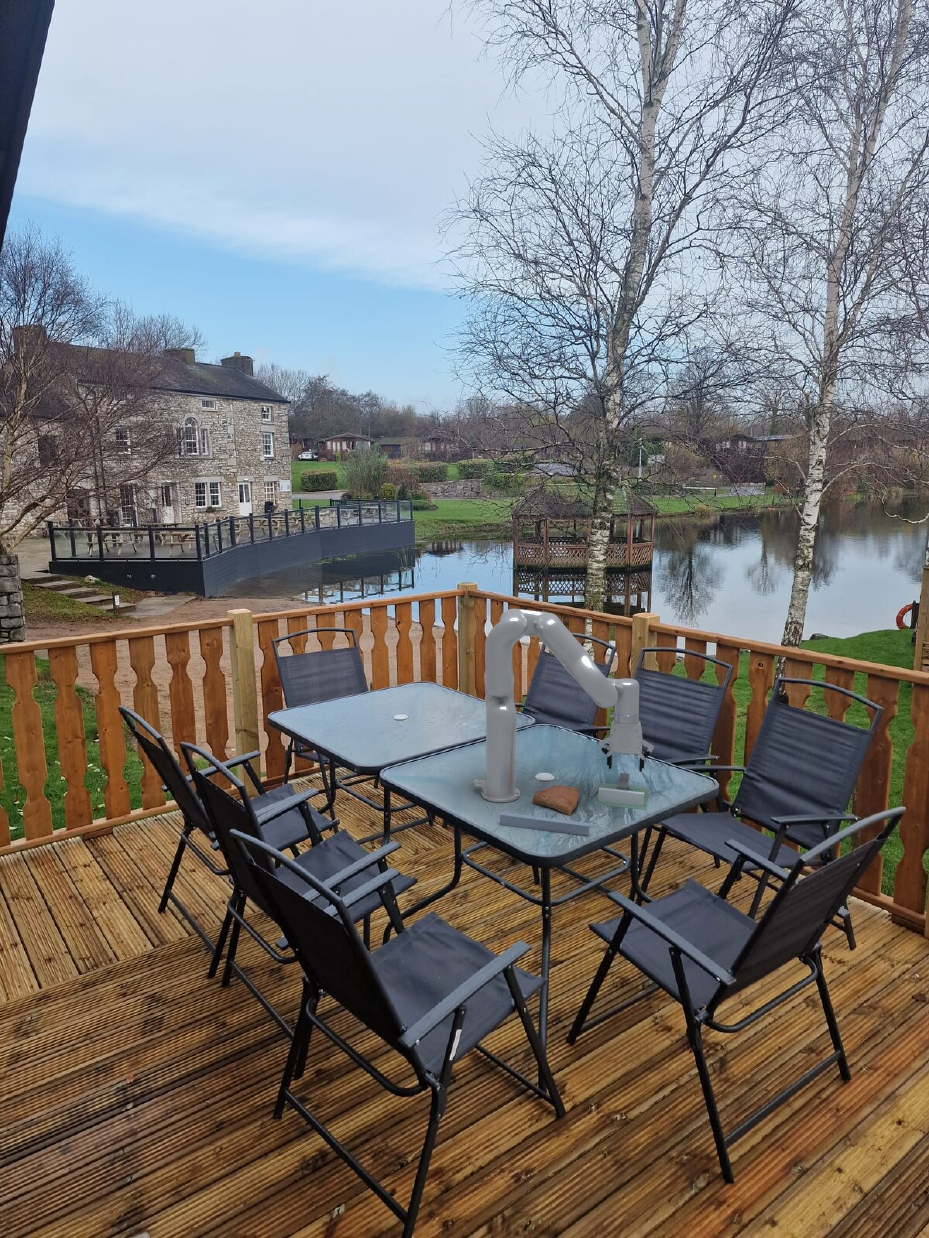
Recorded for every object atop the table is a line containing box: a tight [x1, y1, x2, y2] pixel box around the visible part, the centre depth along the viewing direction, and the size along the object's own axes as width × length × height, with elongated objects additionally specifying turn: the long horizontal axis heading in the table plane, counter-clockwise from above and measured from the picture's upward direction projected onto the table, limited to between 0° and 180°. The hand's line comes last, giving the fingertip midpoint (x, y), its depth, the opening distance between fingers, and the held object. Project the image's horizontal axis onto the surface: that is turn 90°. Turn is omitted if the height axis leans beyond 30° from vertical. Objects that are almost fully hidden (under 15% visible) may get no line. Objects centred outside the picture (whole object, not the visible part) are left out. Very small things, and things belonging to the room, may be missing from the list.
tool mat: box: [593, 782, 650, 811], centre depth 244 cm, size 16×18×1 cm
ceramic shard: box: [531, 785, 580, 816], centre depth 239 cm, size 15×6×15 cm
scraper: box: [598, 772, 644, 807], centre depth 244 cm, size 14×14×5 cm
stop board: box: [499, 811, 590, 836], centre depth 221 cm, size 26×2×3 cm, turn 74°
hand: (625, 768), depth 243 cm, fingers open, 9 cm apart
